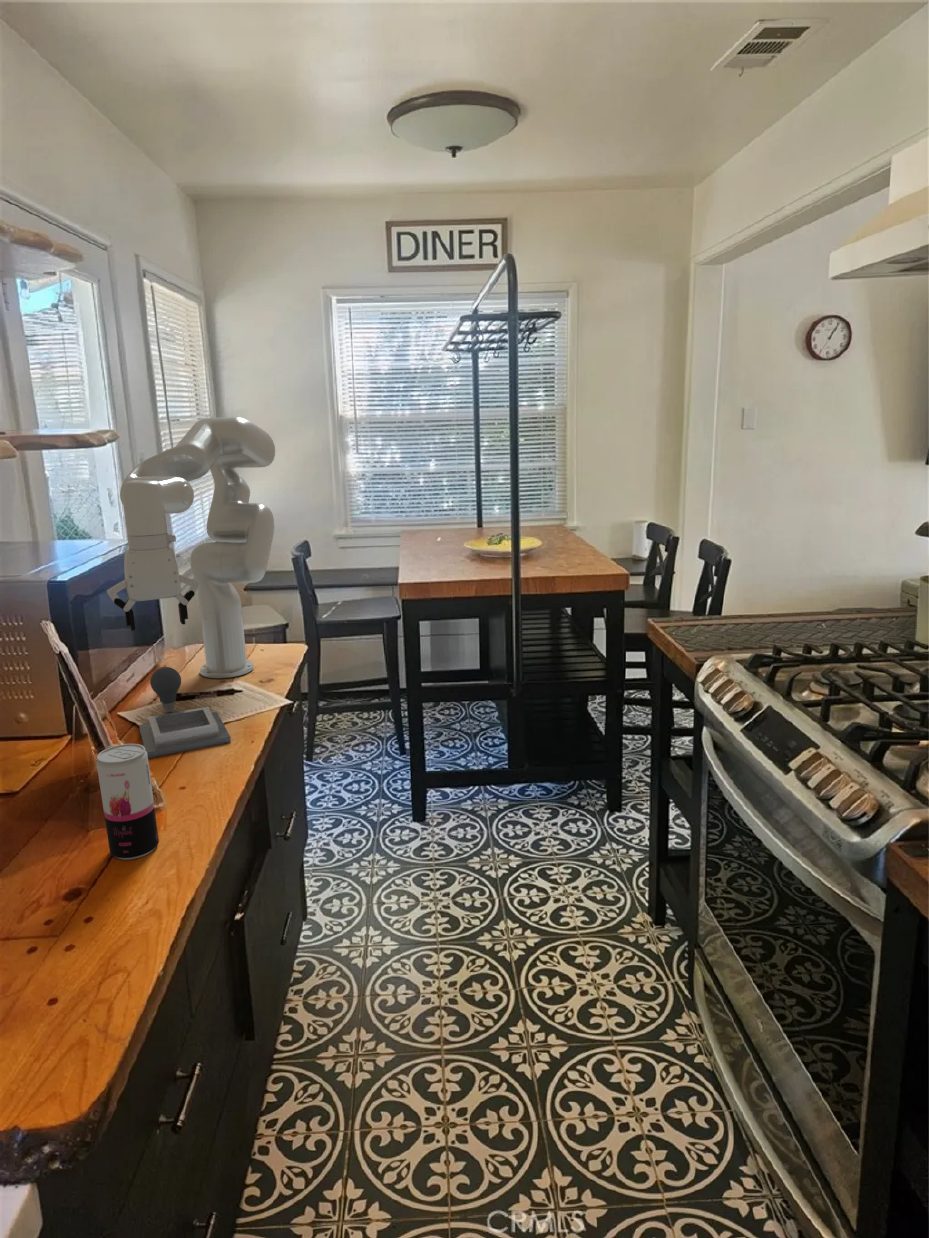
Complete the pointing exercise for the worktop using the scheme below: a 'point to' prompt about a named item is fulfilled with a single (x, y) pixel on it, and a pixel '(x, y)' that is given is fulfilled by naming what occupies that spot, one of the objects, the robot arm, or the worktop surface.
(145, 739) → the bulb stand
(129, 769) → the beverage can
